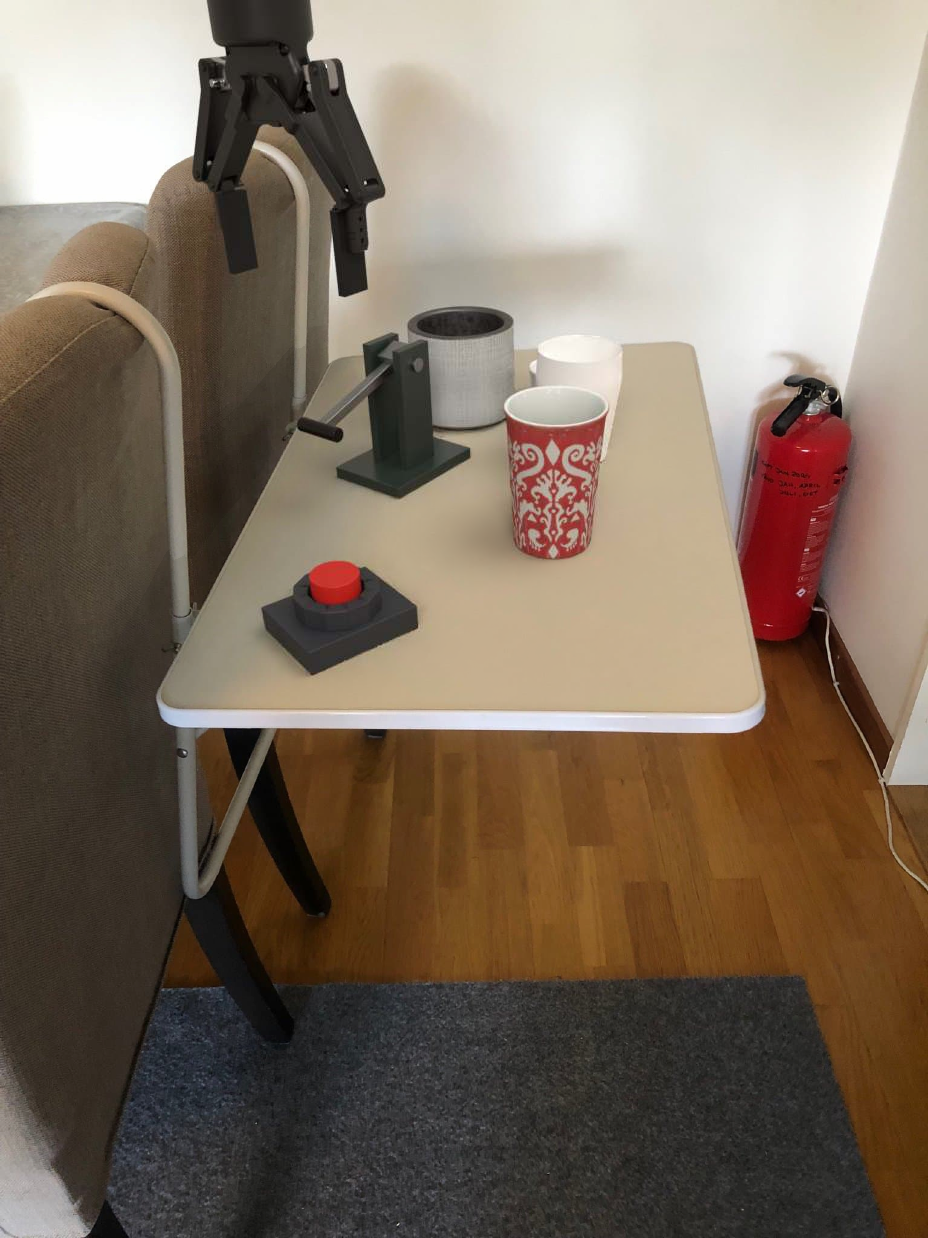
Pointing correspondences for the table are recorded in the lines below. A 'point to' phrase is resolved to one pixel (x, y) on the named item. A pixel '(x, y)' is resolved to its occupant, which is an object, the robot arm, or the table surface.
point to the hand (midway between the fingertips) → (296, 281)
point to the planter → (467, 364)
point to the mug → (554, 467)
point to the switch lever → (351, 399)
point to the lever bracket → (401, 426)
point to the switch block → (338, 622)
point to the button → (335, 582)
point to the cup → (583, 369)
